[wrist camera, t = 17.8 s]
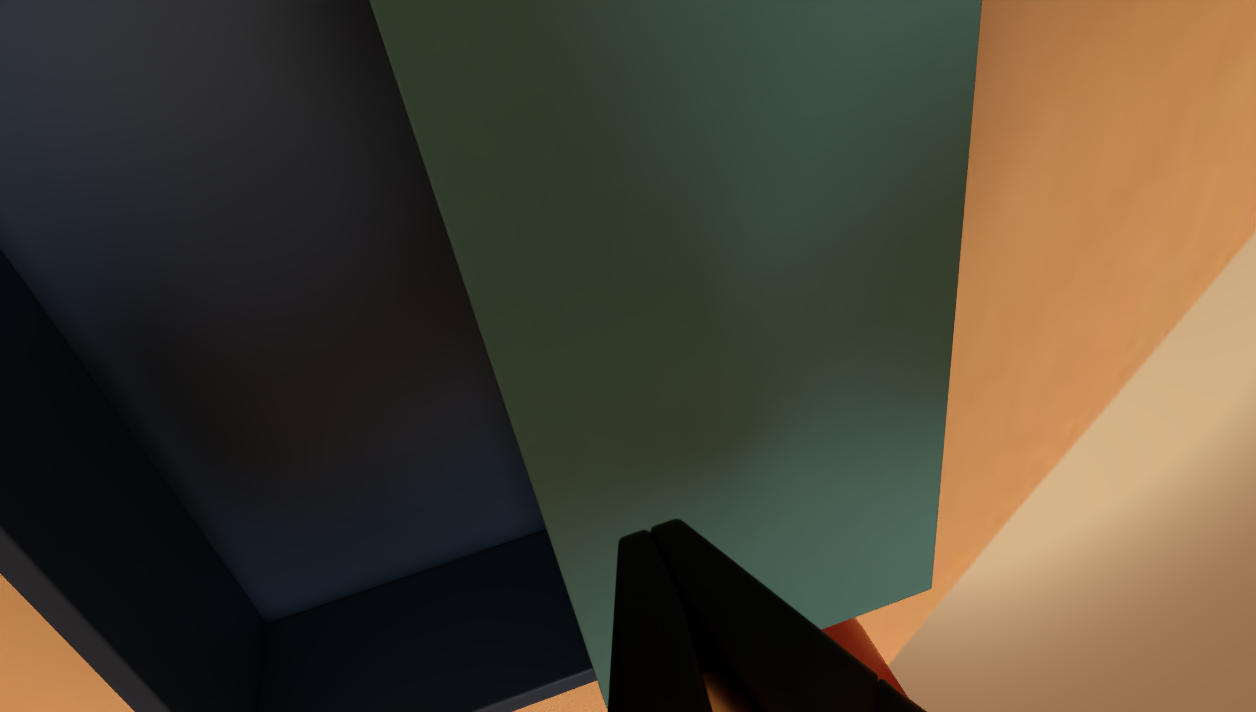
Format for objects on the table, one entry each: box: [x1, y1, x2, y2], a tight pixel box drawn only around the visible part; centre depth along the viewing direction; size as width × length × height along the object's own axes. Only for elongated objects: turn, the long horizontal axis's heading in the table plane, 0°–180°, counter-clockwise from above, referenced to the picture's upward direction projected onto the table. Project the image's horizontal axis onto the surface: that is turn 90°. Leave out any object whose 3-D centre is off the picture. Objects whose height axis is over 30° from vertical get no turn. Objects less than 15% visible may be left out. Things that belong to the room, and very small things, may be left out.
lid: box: [369, 0, 982, 708], centre depth 13 cm, size 8×16×1 cm, turn 10°
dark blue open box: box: [0, 0, 597, 712], centre depth 15 cm, size 16×16×5 cm
